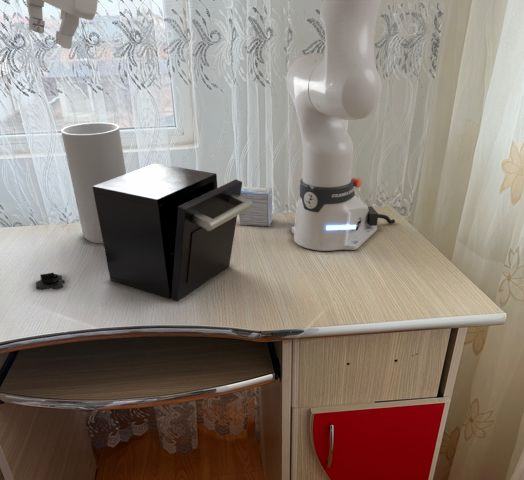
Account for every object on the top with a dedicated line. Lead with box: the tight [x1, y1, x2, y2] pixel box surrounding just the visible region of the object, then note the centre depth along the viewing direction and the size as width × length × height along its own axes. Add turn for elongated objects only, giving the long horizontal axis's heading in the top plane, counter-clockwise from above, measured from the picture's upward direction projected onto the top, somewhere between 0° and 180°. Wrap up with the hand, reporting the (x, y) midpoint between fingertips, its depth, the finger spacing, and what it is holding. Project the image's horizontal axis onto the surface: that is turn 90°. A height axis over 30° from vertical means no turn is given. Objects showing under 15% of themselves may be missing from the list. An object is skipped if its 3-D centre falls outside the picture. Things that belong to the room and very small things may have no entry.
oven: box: [92, 163, 218, 300], centre depth 110 cm, size 16×18×20 cm
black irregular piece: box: [35, 272, 65, 291], centre depth 111 cm, size 6×2×6 cm
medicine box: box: [238, 186, 273, 227], centre depth 137 cm, size 8×4×9 cm, turn 77°
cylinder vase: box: [60, 122, 127, 244], centre depth 127 cm, size 12×12×25 cm
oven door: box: [170, 178, 253, 302], centre depth 104 cm, size 6×18×20 cm, turn 148°
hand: (49, 39), depth 81 cm, fingers open, 8 cm apart
